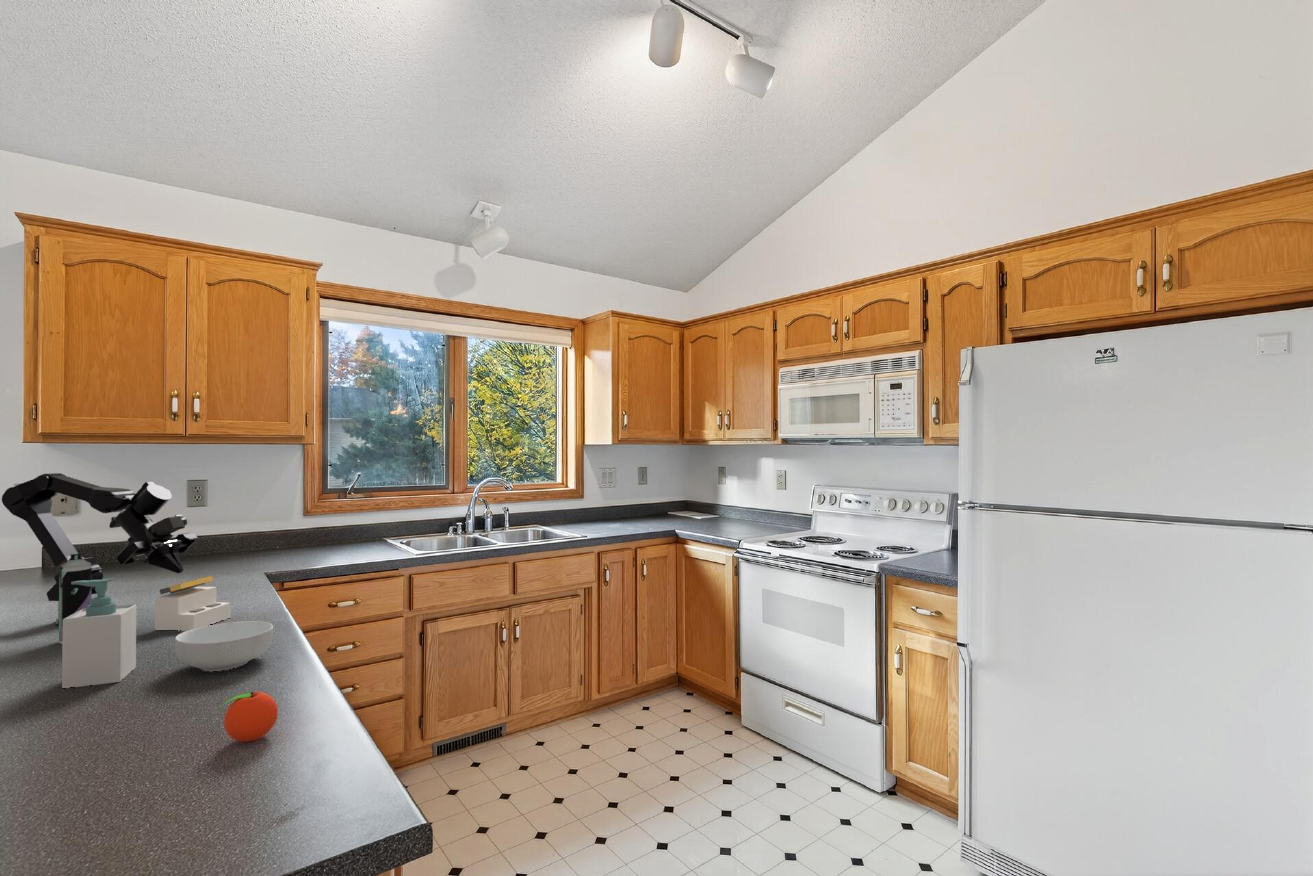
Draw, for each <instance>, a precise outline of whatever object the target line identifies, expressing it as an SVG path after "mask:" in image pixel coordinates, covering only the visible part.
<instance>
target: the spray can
mask: <svg viewBox="0 0 1313 876" xmlns="http://www.w3.org/2000/svg"><path fill="white" fill-rule="evenodd" d="M82 557H83V556H82V554H81V553H78V554H71V558H70V559H69V560H68V562H66V563H64V564H63V565H61V566H60V567H61V568H60V576H59V625H58V644H59V645H62V644H63V619H65V618H67V617H68V616H70V615H72V614H74V613H76V612H78V611H80V610H81V609H84V608H86V607H87V606H88V605H91V599H92V595H91V587H90V586H84V585H78V584H74V585H72V584H71V582H75V581H82V580H92V566H91V563H90V562H87V561H85V560H84V558H85V557H83V558H82Z"/></svg>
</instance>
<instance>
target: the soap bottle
mask: <svg viewBox="0 0 1313 876" xmlns="http://www.w3.org/2000/svg"><path fill="white" fill-rule="evenodd" d="M115 579H116V578H115V577H112V578H103V579H102V580H82V581H75V582H71V584H72V585H74V584H78V585H84V586H90V587H94V586H95V591H96V592H97V595H96V596H95V597H91V605H88V606H87V607H86V608H84V609H81V610H80V611H78V612H76V613H74V614H72V615H70V616H68V617H67V618H65V619H63V644H61V646H62V652H61V655H62V658H61V659H62V660H61V661H62V662H61V664H62V665H61V666H62V668H61V688H66V689H71V688H70V687H75V688H82V687H91V686H90V685H92V686H99V685H106V684H115V683H116V682H117V683H120V682H121V681H123V680H122V679H125V678H126V677H127V676H128V675H129V674H131V671H132V670H133V671H134V670H135V669H136V667H137V605H136V604H134V603H133V604H124V605H117V603H116V602H114V601H112V596H111V595H106V592H107V590H108V582H111V581H114V580H115ZM133 671H132V672H133Z"/></svg>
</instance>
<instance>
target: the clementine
mask: <svg viewBox="0 0 1313 876" xmlns="http://www.w3.org/2000/svg"><path fill="white" fill-rule="evenodd" d="M232 701H233V702H232ZM230 702H232V703H231V704H230V706H229V707H228V708H227V710H226V712H225V715H224V721H223V725H224V730H225V732H226V733H227V735H228V736H229V737H231V738H232V739H233V740H236V741H238V742H243V743H245V742H246V743H247V742H253V741H256V740H259V739H261V738H262V737H264V736H265V735H267V734H268V733H269V732H270V731H271V730H272V728H273V727H274V726H275V723H276V722H277V719H278V714H279V710H278V704H277V702H276V701H275V699H274V698H273V697H272V696H271V695H270V694H267V693H265V692H262V691H254V692H253V691H252V692H248V693H243V694H239V695H236V696H234V697H231V698H229V699H228V700H226V702H224V703H223V704H222V705H221V706H220V707H219V709H218V710H217V712H216V714H215V716H217V714H218V713H219V712H220V711H219V710H220V709H221V708H223V706H224V705H226V704H227V703H230Z"/></svg>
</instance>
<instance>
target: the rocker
mask: <svg viewBox="0 0 1313 876" xmlns="http://www.w3.org/2000/svg"><path fill="white" fill-rule="evenodd" d="M212 581H214V579H213V575H210V576H206V577H202V578H199V579H194V580H191V581H186V582H183V583H180V584H179V583H178V584H175V585H172V586H168V587H165V588H161V589H159V593H160V595H165V594H167V593H168V594H170V593H171V594H172V593H176V592H180V591H183V590H187V589H190V588H194V587H202V586H204V585H205V583H208V582H212Z"/></svg>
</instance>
